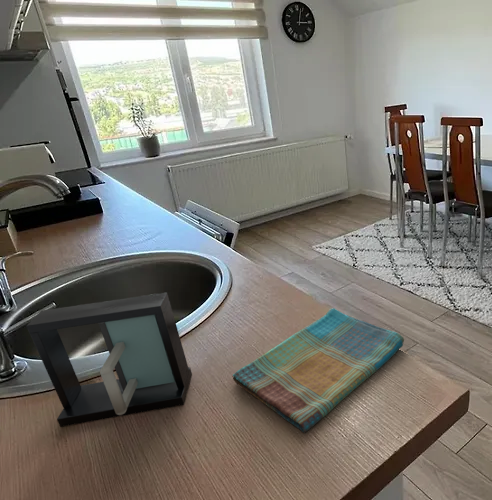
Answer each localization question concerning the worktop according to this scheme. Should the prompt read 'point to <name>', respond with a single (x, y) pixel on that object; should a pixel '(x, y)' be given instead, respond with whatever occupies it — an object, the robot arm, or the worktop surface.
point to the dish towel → (318, 367)
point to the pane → (133, 358)
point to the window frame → (96, 396)
